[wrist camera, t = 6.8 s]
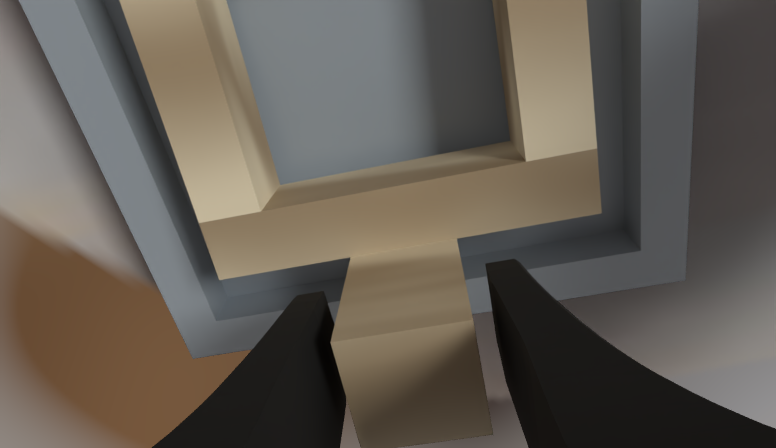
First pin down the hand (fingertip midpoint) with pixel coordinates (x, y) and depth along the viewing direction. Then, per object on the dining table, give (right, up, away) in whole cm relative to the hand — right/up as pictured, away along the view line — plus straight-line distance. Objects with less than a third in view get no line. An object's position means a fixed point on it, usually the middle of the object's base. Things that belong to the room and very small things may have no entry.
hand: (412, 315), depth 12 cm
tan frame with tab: (-1, +5, +2) cm, 5 cm away
